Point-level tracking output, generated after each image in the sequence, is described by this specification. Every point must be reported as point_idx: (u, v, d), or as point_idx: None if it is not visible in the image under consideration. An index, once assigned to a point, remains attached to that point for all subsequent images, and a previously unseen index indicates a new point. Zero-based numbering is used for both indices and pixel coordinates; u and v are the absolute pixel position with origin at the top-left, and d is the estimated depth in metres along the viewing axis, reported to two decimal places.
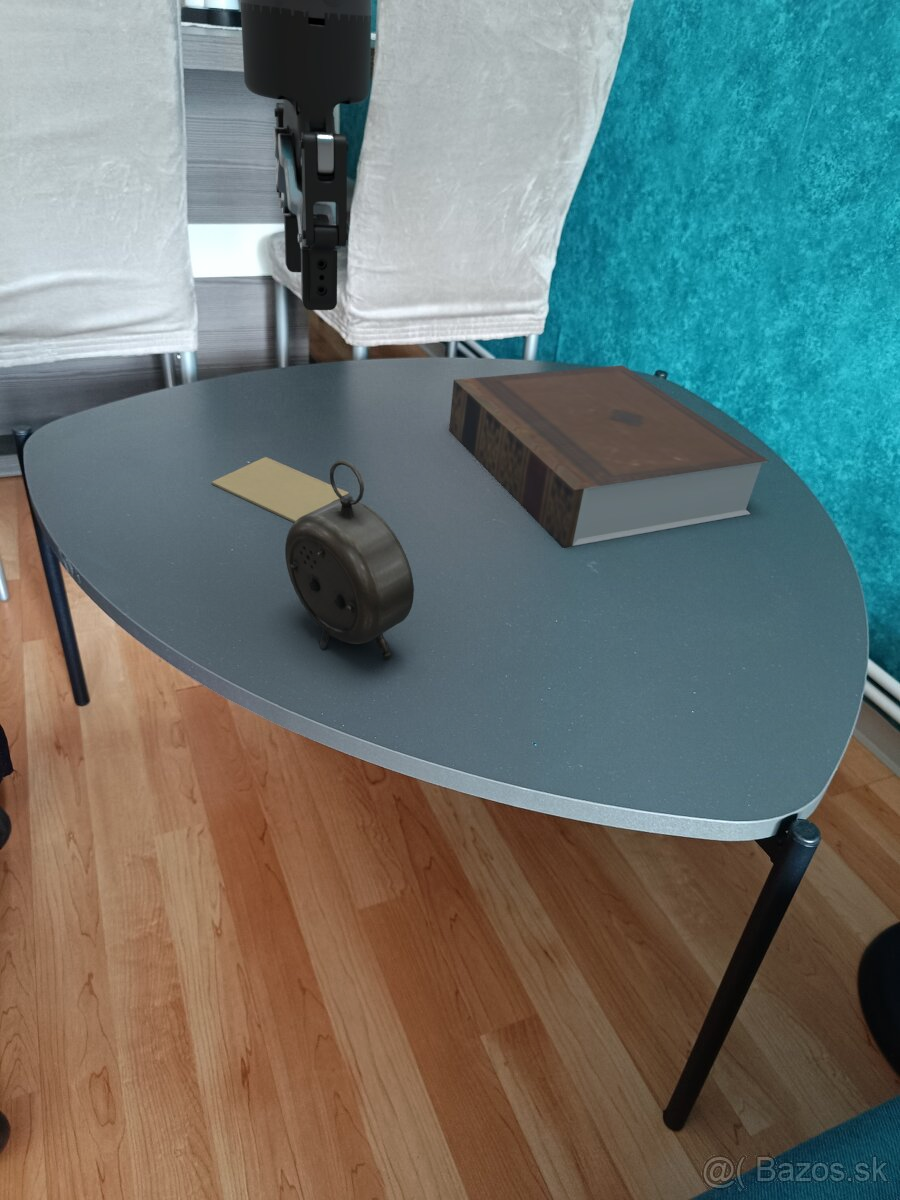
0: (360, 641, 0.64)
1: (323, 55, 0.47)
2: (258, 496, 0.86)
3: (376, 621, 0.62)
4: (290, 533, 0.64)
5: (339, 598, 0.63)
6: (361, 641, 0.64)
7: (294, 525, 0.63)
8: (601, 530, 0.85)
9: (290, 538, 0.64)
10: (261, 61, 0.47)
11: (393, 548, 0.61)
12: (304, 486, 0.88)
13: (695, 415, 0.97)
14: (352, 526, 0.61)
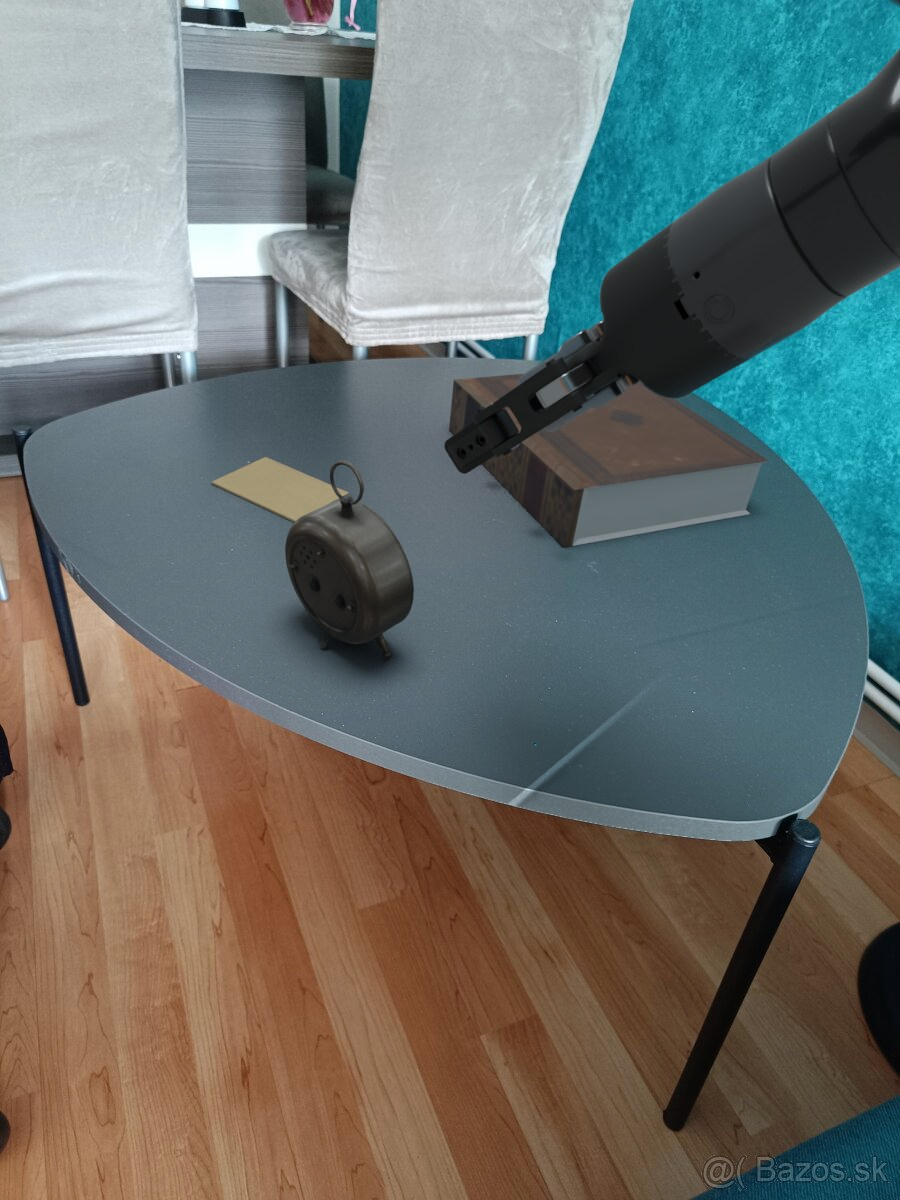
0: (360, 641, 0.64)
1: (657, 334, 0.39)
2: (258, 496, 0.86)
3: (376, 621, 0.62)
4: (290, 533, 0.64)
5: (339, 598, 0.63)
6: (361, 641, 0.64)
7: (294, 525, 0.63)
8: (601, 530, 0.85)
9: (290, 539, 0.64)
10: (623, 274, 0.40)
11: (393, 548, 0.61)
12: (304, 486, 0.88)
13: (695, 415, 0.97)
14: (352, 526, 0.61)
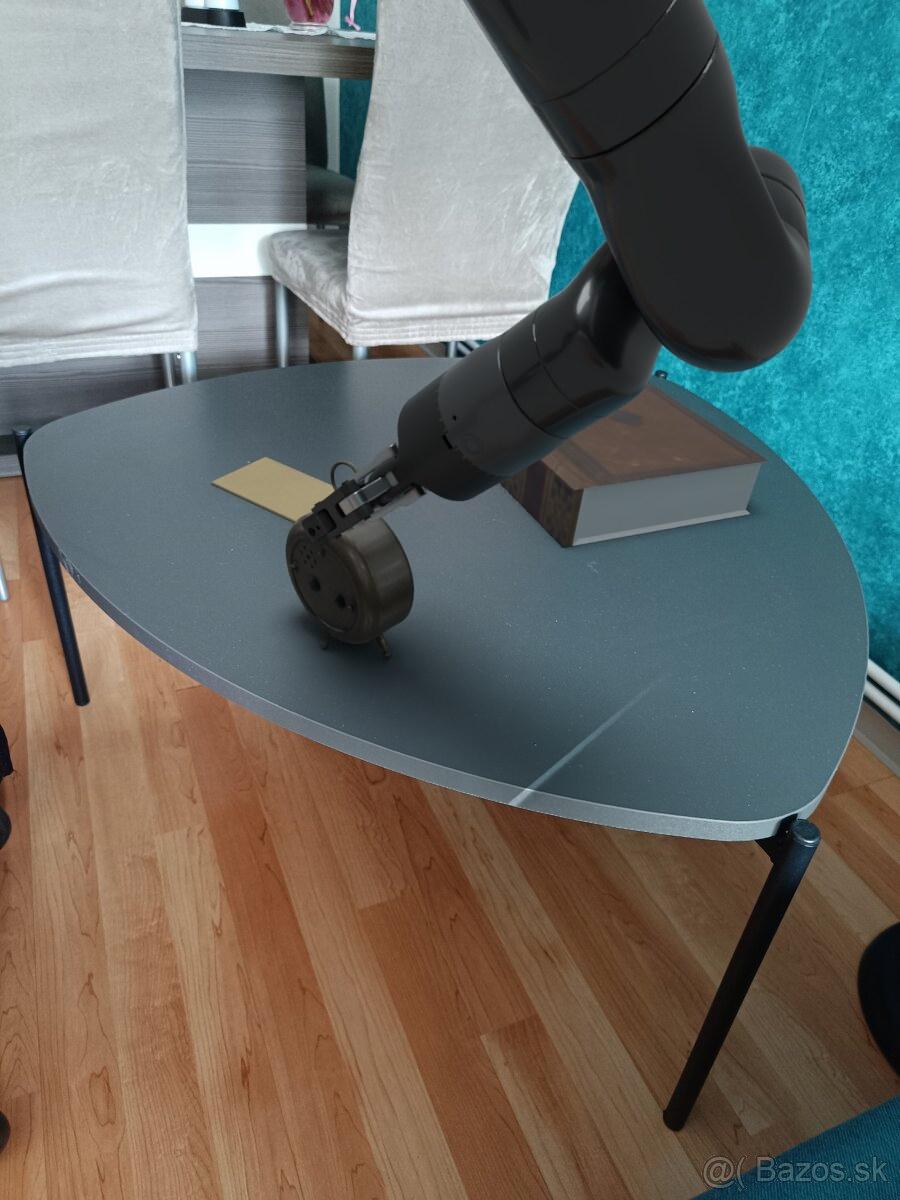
0: (360, 641, 0.64)
1: (433, 458, 0.50)
2: (258, 496, 0.86)
3: (376, 620, 0.62)
4: (290, 533, 0.64)
5: (339, 598, 0.63)
6: (361, 641, 0.64)
7: (294, 525, 0.63)
8: (601, 530, 0.85)
9: (291, 538, 0.64)
10: (411, 408, 0.51)
11: (393, 548, 0.61)
12: (304, 486, 0.88)
13: (695, 415, 0.97)
14: None
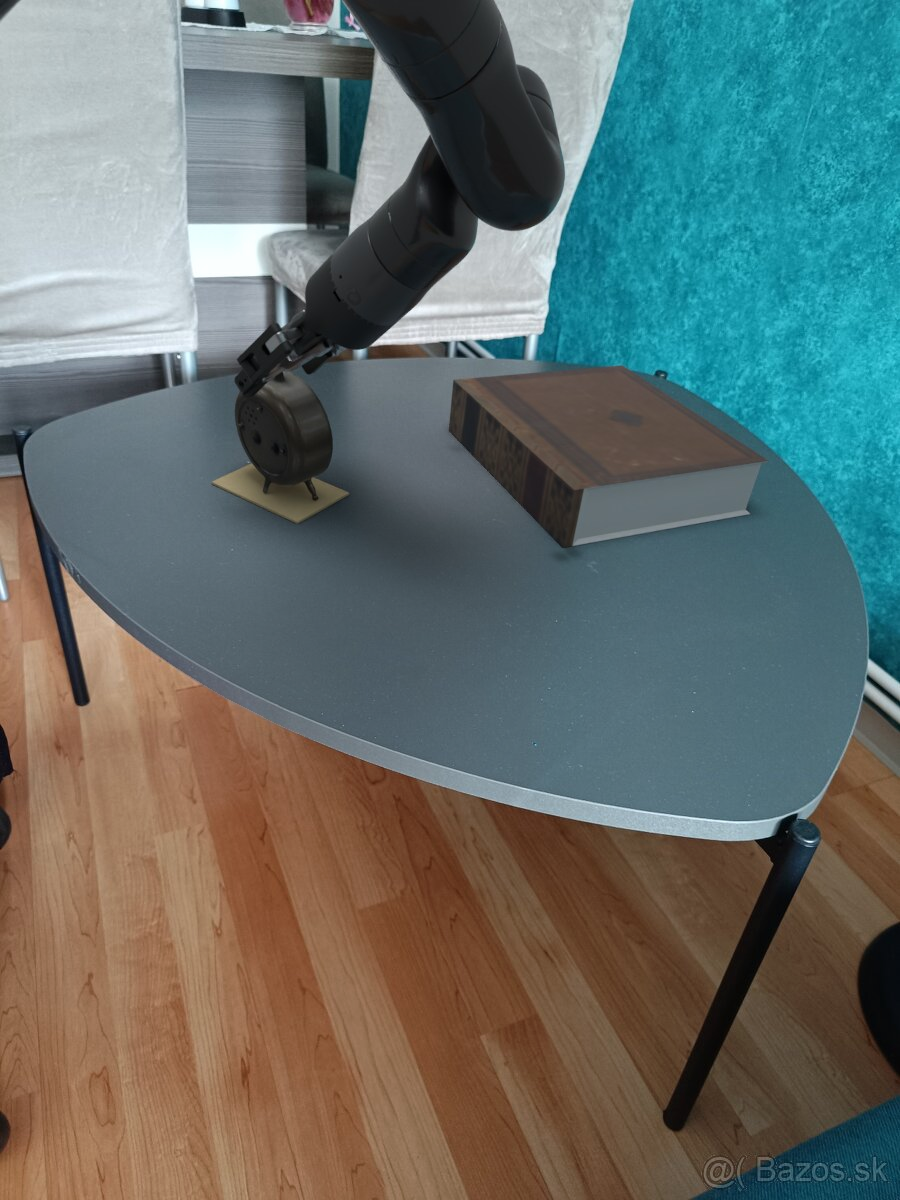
0: (292, 481, 0.83)
1: (328, 310, 0.68)
2: (258, 496, 0.86)
3: (302, 461, 0.80)
4: (237, 398, 0.83)
5: (274, 445, 0.81)
6: (293, 481, 0.83)
7: None
8: (601, 530, 0.85)
9: (238, 402, 0.83)
10: (314, 276, 0.69)
11: (315, 405, 0.80)
12: (304, 486, 0.88)
13: (695, 415, 0.97)
14: (283, 387, 0.79)
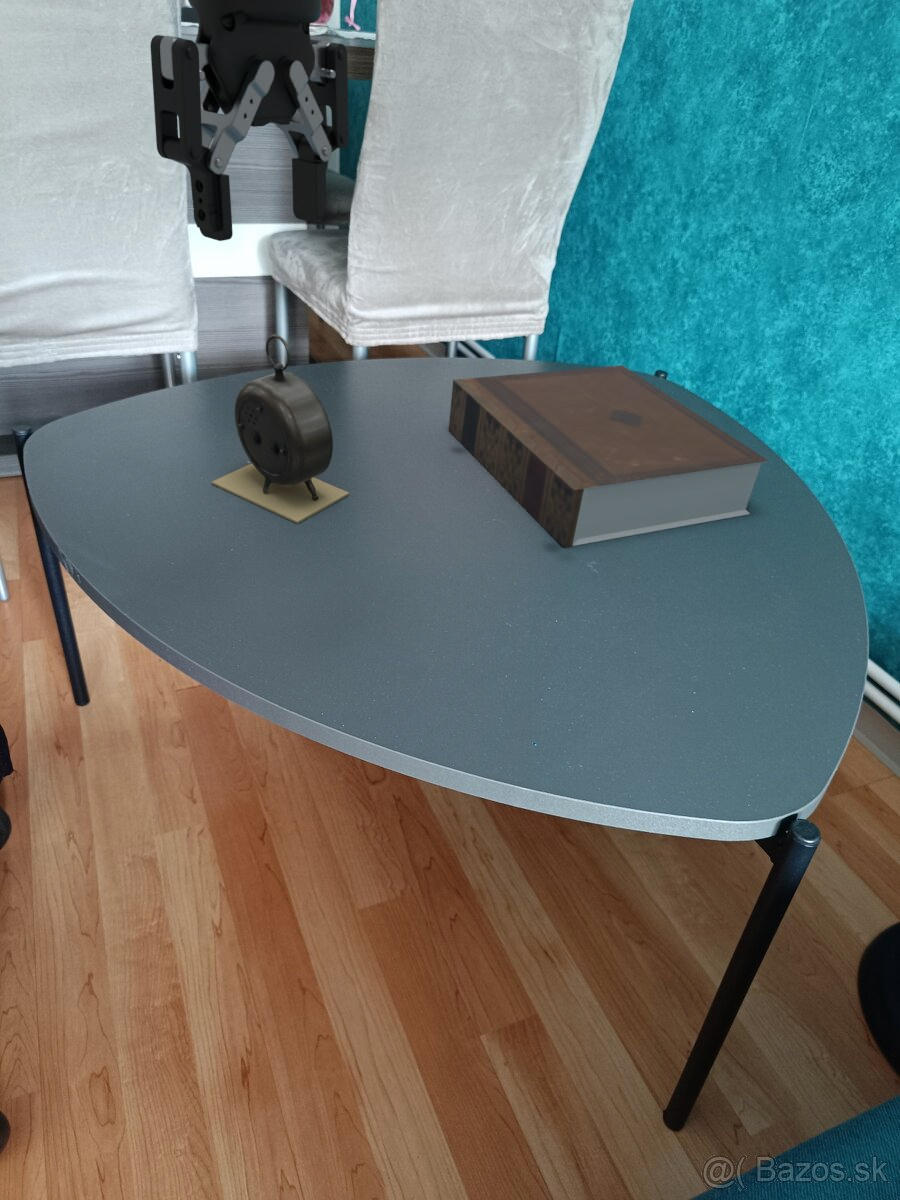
0: (292, 481, 0.83)
1: None
2: (258, 496, 0.86)
3: (302, 461, 0.80)
4: (237, 398, 0.83)
5: (274, 445, 0.81)
6: (293, 481, 0.83)
7: (240, 391, 0.82)
8: (601, 530, 0.85)
9: (238, 402, 0.83)
10: None
11: (315, 405, 0.80)
12: (304, 486, 0.88)
13: (694, 415, 0.97)
14: (283, 387, 0.79)
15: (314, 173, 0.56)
